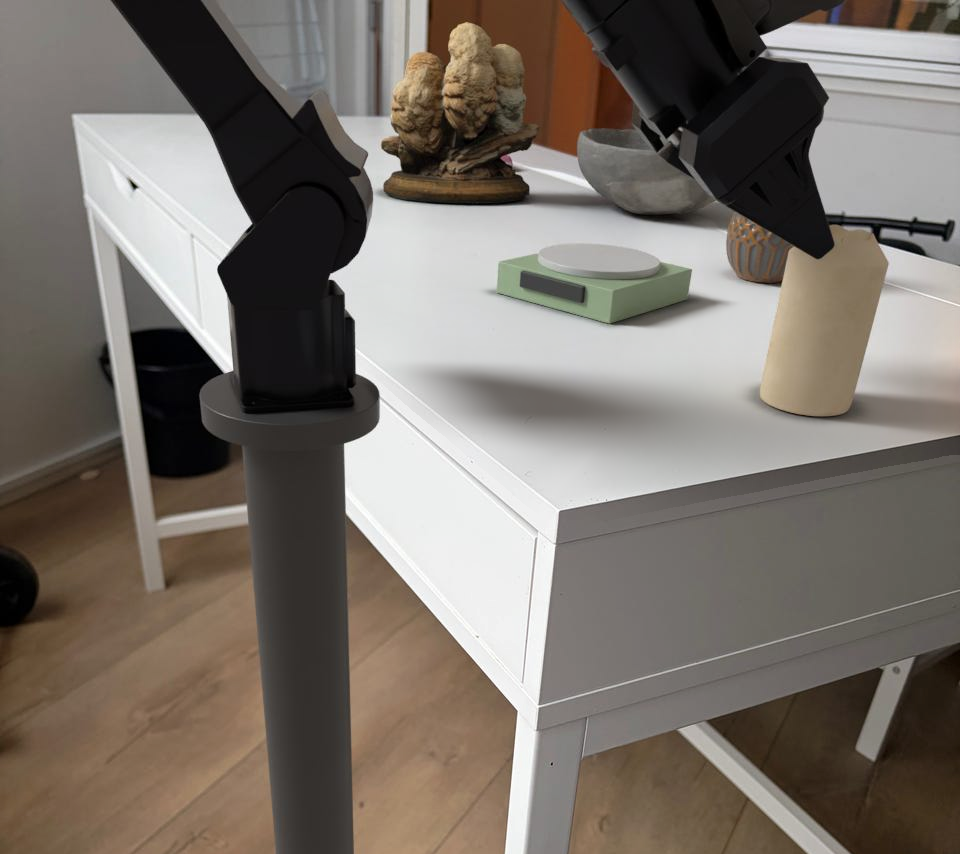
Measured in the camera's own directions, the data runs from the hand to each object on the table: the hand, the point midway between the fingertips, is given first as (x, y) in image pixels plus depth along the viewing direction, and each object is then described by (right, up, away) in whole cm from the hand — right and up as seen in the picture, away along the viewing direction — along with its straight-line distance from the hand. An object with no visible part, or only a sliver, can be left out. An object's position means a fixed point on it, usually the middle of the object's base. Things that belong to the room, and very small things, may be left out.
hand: (799, 234), depth 56 cm
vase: (+7, +9, +33) cm, 35 cm away
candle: (+2, -8, +6) cm, 10 cm away
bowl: (+1, +25, +57) cm, 62 cm away
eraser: (-18, +42, +80) cm, 92 cm away
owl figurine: (-20, +29, +60) cm, 69 cm away
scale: (-9, +5, +24) cm, 26 cm away
